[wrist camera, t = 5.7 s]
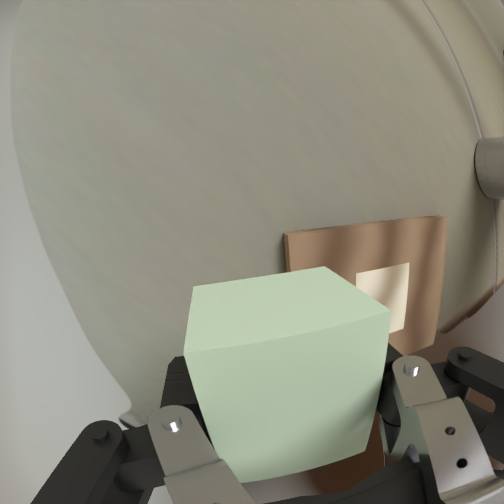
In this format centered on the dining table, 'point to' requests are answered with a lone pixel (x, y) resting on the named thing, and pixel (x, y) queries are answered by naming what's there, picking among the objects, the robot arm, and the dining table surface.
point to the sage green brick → (286, 369)
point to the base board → (384, 269)
